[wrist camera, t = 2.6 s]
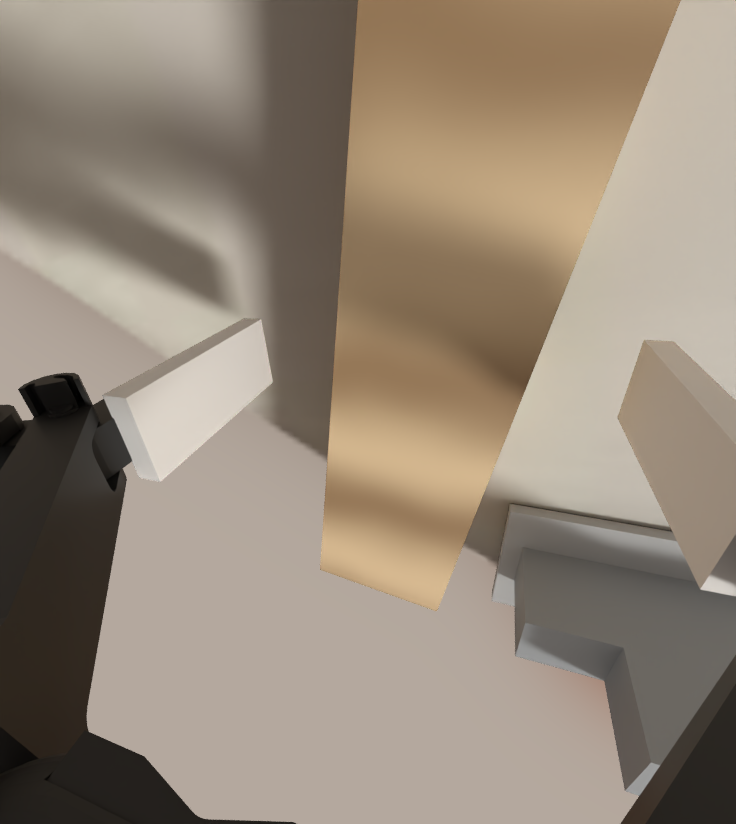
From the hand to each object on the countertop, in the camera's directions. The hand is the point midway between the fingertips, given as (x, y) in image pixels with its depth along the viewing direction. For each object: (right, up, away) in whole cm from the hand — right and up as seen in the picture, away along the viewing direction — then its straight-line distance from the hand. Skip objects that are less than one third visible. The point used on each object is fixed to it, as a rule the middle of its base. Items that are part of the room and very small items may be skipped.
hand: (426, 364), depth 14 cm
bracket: (+12, -11, +7) cm, 18 cm away
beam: (+1, +2, +3) cm, 4 cm away
